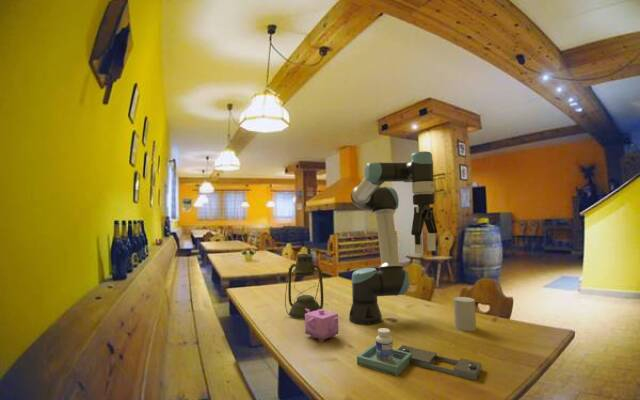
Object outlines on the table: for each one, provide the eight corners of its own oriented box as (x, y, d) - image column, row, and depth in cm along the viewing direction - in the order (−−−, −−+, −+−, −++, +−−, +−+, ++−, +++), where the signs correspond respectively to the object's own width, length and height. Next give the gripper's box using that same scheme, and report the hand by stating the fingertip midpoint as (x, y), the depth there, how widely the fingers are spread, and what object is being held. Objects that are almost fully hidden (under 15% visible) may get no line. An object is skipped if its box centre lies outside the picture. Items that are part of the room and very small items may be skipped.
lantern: (331, 311, 164) (329, 252, 166) (315, 321, 149) (313, 256, 151) (297, 307, 174) (296, 251, 176) (278, 316, 158) (277, 255, 160)
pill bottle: (374, 357, 107) (373, 327, 108) (390, 356, 108) (389, 326, 108) (378, 364, 102) (377, 333, 102) (395, 363, 102) (394, 332, 103)
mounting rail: (393, 359, 107) (392, 351, 107) (402, 350, 114) (402, 343, 114) (476, 380, 92) (475, 371, 92) (481, 369, 98) (481, 361, 99)
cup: (478, 331, 131) (476, 301, 131) (457, 330, 132) (456, 301, 133) (473, 325, 139) (471, 297, 139) (453, 324, 140) (452, 296, 141)
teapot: (341, 331, 135) (340, 305, 136) (340, 343, 122) (339, 314, 122) (305, 331, 136) (304, 305, 137) (301, 343, 123) (300, 314, 123)
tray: (357, 364, 104) (356, 356, 104) (374, 351, 114) (373, 344, 114) (397, 376, 96) (397, 367, 96) (412, 361, 105) (411, 353, 106)
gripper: (421, 191, 105) (424, 256, 104) (443, 194, 125) (446, 249, 124) (400, 192, 109) (402, 255, 108) (424, 196, 129) (426, 248, 128)
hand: (425, 252), depth 116 cm, fingers open, 13 cm apart
